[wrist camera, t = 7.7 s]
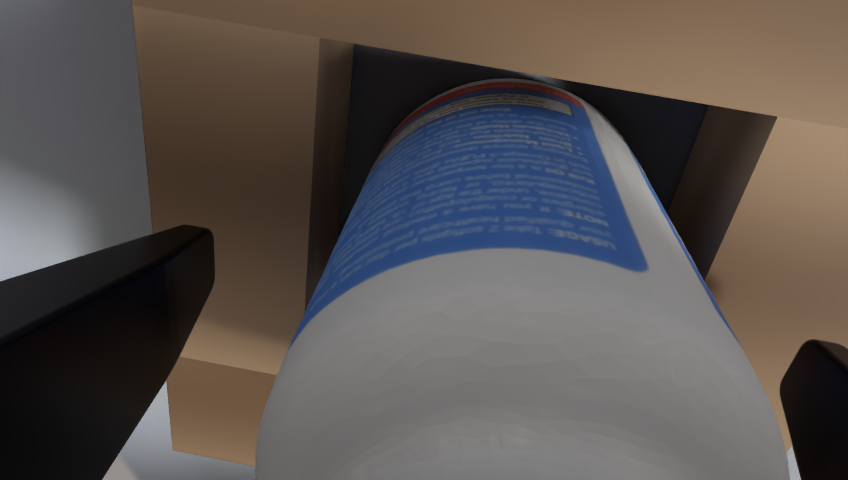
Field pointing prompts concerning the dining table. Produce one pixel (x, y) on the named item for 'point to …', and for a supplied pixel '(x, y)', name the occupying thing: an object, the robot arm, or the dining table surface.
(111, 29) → the dining table surface
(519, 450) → the pill bottle
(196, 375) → the socket block
